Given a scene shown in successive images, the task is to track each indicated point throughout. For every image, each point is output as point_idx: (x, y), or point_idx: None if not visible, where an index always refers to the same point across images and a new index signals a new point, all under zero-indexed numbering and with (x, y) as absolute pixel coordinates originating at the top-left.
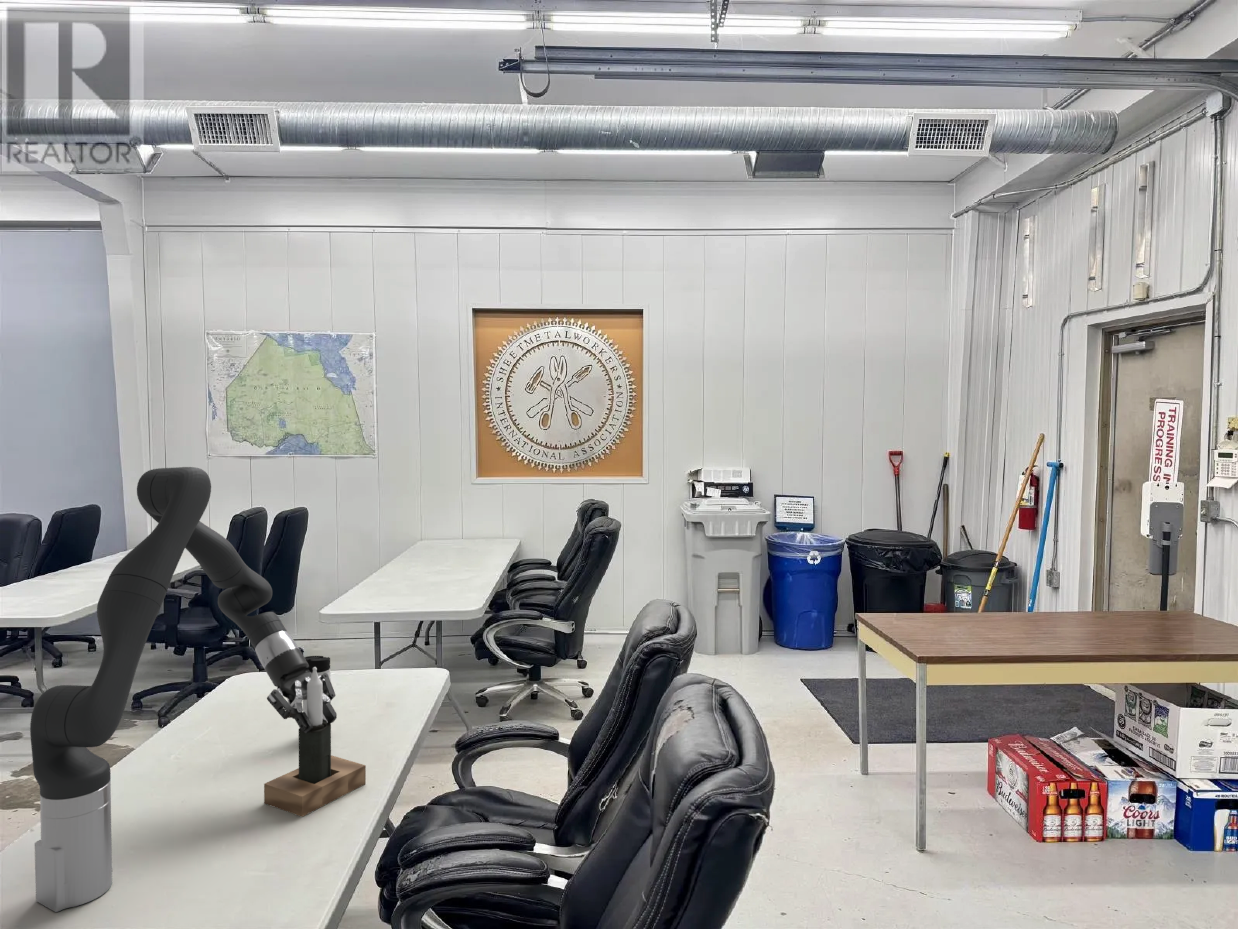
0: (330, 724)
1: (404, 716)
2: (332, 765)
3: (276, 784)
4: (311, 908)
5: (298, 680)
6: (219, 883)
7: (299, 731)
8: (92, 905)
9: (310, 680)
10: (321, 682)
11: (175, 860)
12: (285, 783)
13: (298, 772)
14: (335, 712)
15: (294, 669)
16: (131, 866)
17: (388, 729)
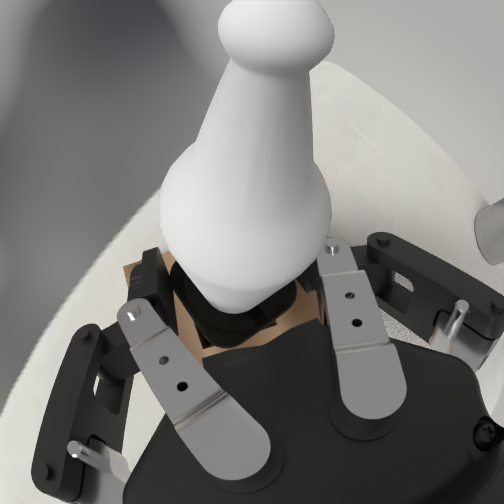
0: (174, 262)
1: (8, 462)
2: (177, 321)
3: (317, 307)
4: (328, 68)
5: (335, 466)
6: (400, 151)
7: (295, 287)
8: (478, 206)
9: (316, 167)
10: (183, 152)
11: (437, 233)
12: (300, 299)
13: (256, 339)
14: (132, 273)
15: (490, 477)
16: (466, 254)
17: (31, 449)
